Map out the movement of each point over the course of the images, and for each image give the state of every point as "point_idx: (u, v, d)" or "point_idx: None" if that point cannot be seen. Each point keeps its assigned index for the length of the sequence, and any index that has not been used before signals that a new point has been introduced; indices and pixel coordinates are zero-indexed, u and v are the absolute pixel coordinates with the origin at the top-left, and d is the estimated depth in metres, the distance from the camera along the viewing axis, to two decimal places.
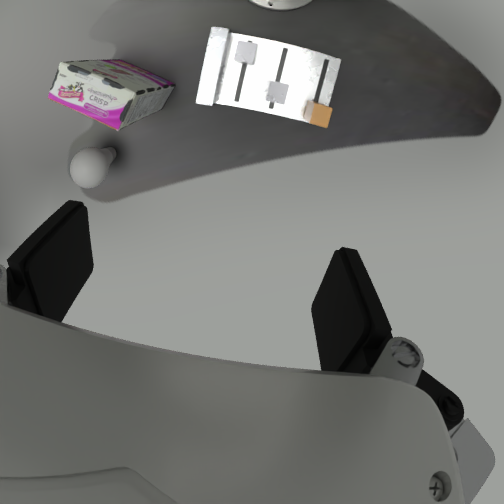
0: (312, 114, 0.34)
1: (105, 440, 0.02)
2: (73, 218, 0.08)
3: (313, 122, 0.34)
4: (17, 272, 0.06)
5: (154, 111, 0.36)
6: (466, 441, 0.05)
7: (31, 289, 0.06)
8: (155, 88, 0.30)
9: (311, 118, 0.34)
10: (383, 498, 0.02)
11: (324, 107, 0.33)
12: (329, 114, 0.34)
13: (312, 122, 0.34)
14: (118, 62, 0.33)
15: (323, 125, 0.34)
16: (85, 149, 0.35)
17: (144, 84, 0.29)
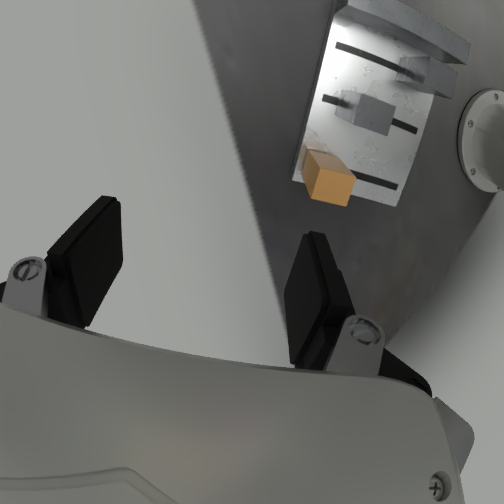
0: (336, 173, 0.20)
1: (105, 440, 0.02)
2: (109, 213, 0.09)
3: (321, 175, 0.20)
4: (57, 264, 0.07)
5: None
6: None
7: (71, 281, 0.07)
8: None
9: (328, 171, 0.20)
10: (383, 498, 0.02)
11: (348, 193, 0.20)
12: (335, 201, 0.21)
13: (321, 172, 0.20)
14: None
15: (315, 192, 0.21)
16: None
17: None
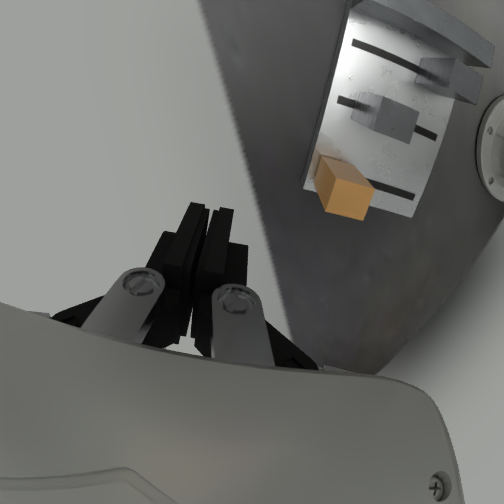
0: (353, 184, 0.18)
1: (105, 440, 0.02)
2: (205, 220, 0.10)
3: (337, 186, 0.18)
4: (173, 275, 0.07)
5: None
6: None
7: (183, 292, 0.08)
8: None
9: (345, 182, 0.18)
10: (383, 498, 0.02)
11: (365, 206, 0.18)
12: (351, 215, 0.19)
13: (337, 183, 0.18)
14: None
15: (330, 205, 0.19)
16: None
17: None
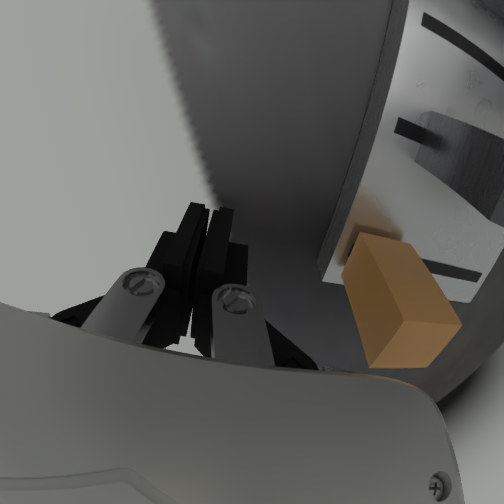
0: (430, 324, 0.08)
1: (105, 440, 0.02)
2: (205, 220, 0.10)
3: (402, 332, 0.08)
4: (173, 275, 0.07)
5: None
6: None
7: (184, 292, 0.08)
8: None
9: (418, 323, 0.08)
10: (383, 498, 0.02)
11: (438, 350, 0.09)
12: (412, 365, 0.09)
13: (403, 328, 0.08)
14: None
15: (381, 358, 0.09)
16: None
17: None
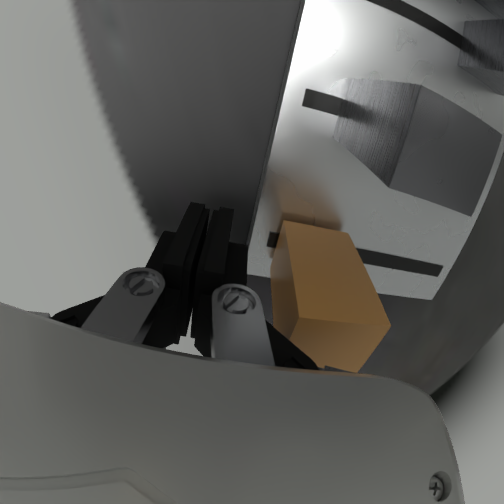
0: (341, 324, 0.07)
1: (105, 440, 0.02)
2: (205, 221, 0.10)
3: (302, 331, 0.08)
4: (173, 275, 0.07)
5: None
6: None
7: (183, 292, 0.08)
8: None
9: (322, 322, 0.07)
10: (383, 498, 0.02)
11: (365, 355, 0.08)
12: None
13: (301, 327, 0.07)
14: None
15: None
16: None
17: None
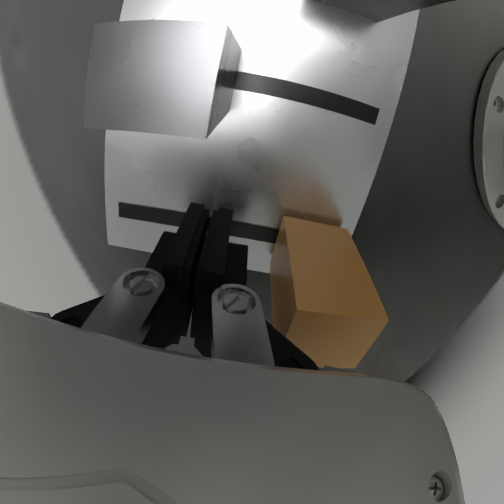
0: (339, 317, 0.08)
1: (105, 440, 0.02)
2: (205, 221, 0.10)
3: (299, 324, 0.08)
4: (173, 275, 0.07)
5: None
6: None
7: (184, 292, 0.08)
8: None
9: (320, 315, 0.07)
10: (383, 498, 0.02)
11: (363, 349, 0.08)
12: (331, 364, 0.09)
13: (299, 319, 0.08)
14: None
15: None
16: None
17: None
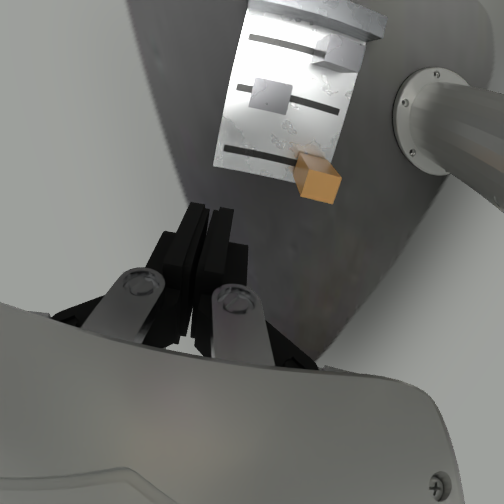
0: (323, 174, 0.22)
1: (105, 440, 0.02)
2: (205, 221, 0.10)
3: (310, 175, 0.22)
4: (173, 275, 0.07)
5: None
6: None
7: (184, 292, 0.08)
8: None
9: (316, 172, 0.22)
10: (383, 498, 0.02)
11: (334, 192, 0.23)
12: (323, 199, 0.23)
13: (309, 173, 0.22)
14: None
15: (305, 191, 0.23)
16: None
17: None
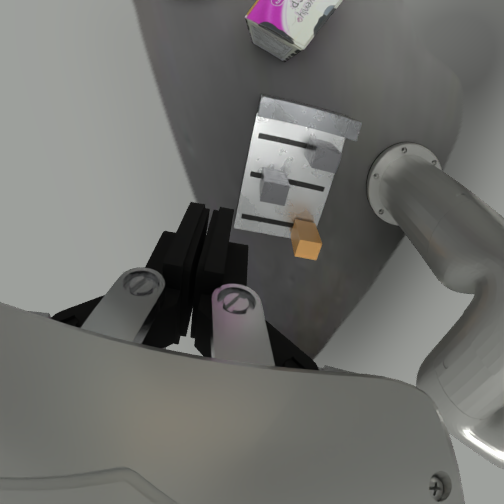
0: (309, 242, 0.35)
1: (105, 440, 0.02)
2: (205, 220, 0.10)
3: (300, 243, 0.35)
4: (173, 275, 0.07)
5: (253, 40, 0.25)
6: None
7: (183, 292, 0.08)
8: (292, 55, 0.21)
9: (305, 241, 0.34)
10: (383, 498, 0.02)
11: (317, 252, 0.35)
12: (309, 257, 0.36)
13: (300, 242, 0.35)
14: None
15: (297, 252, 0.35)
16: None
17: None
